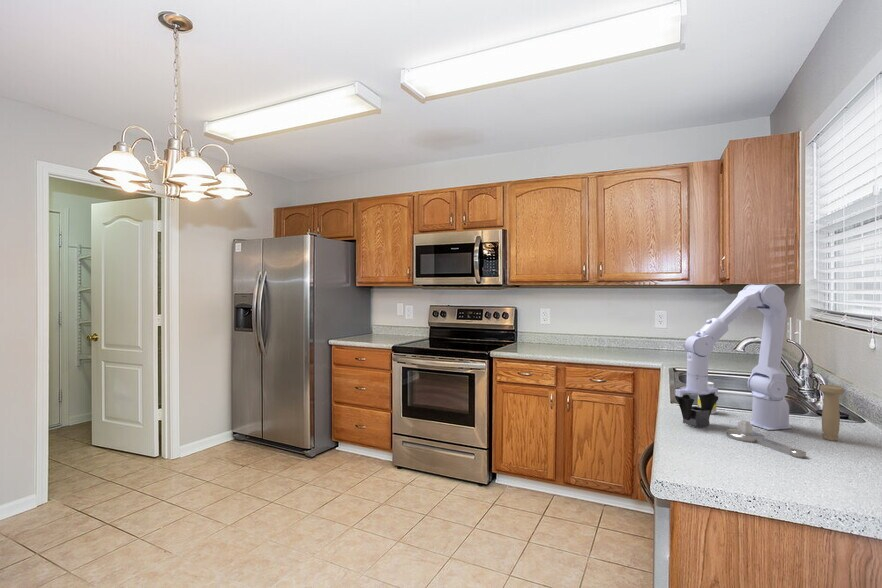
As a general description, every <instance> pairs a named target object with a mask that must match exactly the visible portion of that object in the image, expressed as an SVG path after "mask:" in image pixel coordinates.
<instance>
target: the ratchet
mask: <svg viewBox="0 0 882 588" xmlns="http://www.w3.org/2000/svg"><path fill="white" fill-rule="evenodd" d="M749 421H750V420H744V419H743V420H740V421H738V422H737V428H728V429H725V430H726V431H725V435H726V437H728V436H729V437H728V438H730V437H731V438H730V439H732V438H733V440H736V441H739V440H740V442H744V443H751V442H752V444H753V443H754V444H758V445H761V446H764V447H766V448H770V449H772V450H775V451H776V452H777V451H778V452H781V453H784V454H786V455H790V456H791V457H794V458H798V459H806V458H807V451H804V450H802V449H797V448H795V447H792V446H789V445H786V444H783V443H780V442H777V441H774V440H772V439H768V438H765V436H764V435H763V434H760V433H759V432H757V431H753V425H752V424H750V422H749Z"/></svg>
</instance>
